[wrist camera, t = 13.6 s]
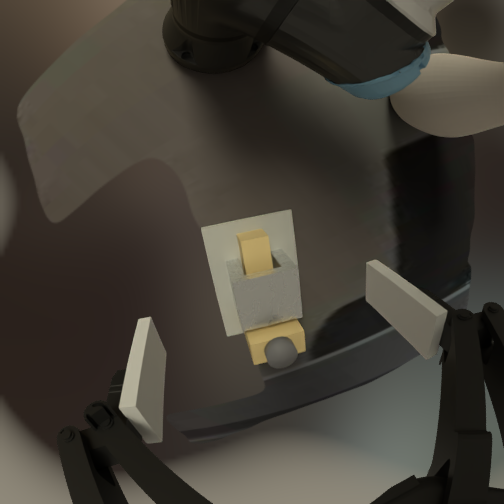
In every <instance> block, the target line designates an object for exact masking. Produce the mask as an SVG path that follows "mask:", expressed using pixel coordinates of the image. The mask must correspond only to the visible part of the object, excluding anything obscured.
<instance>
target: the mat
mask: <svg viewBox="0 0 504 504" xmlns="http://www.w3.org/2000/svg"><path fill="white" fill-rule="evenodd" d="M257 229H263V230H264V231H265V232H266V234H267V235H268V237H269V243H270V250H271V251H273V250H277V249H282V250H283V251H284V252H285V253H286V254H287V256H288V257H289V258H290V259H291V260H292V261H293V262H294V263H295V265H296V266H297V267H298V263H297V254H296V245H295V236H294V228H293V220H292V212H291V209H289V210H284V211H279V212H274V213H269V214H264V215H259V216H254V217H249V218H244V219H239V220H235V221H230V222H225V223H221V224H216V225H211V226H207V227H202V228H201V231H202V235H203V240H204V244H205V248H206V253H207V257H208V261H209V265H210V270H211V274H212V278H213V282H214V286H215V290H216V294H217V298H218V302H219V306H220V310H221V314H222V318H223V322H224V326H225V330H226V333H227V336H232V335H236V334H240V333H244V332H243V331H242V328H241V324H240V321H239V317H238V314H237V311H236V307H235V303H234V299H233V294H232V289H231V285H230V280H229V275H228V271H227V266H226V261H227V260H232V259H236V258H238V261H239V263H240V265H241V268H242V270H243V267H242V261H241V256H240V251H239V246H238V240H237V235H236V234H238V233H243V232H248V231H252V230H257ZM243 273H244V272H243ZM302 317H303V315H302ZM302 317H299V318H302ZM299 318H297V319H299Z"/></svg>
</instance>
